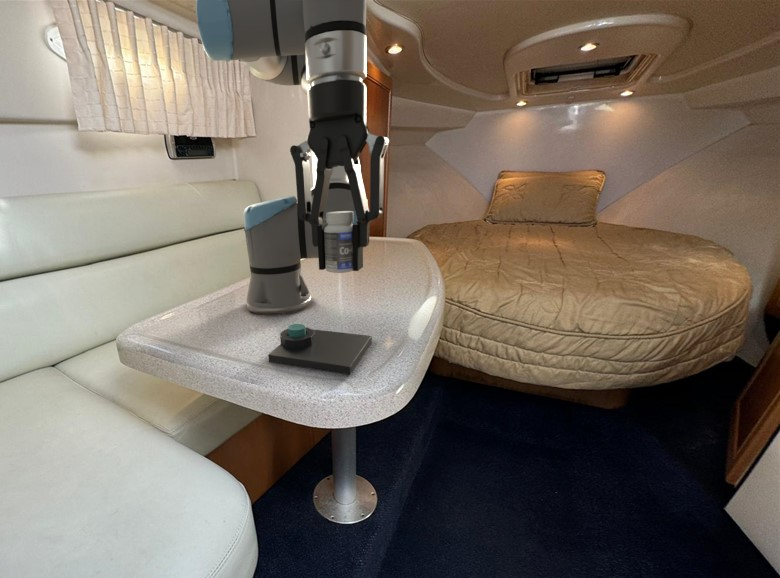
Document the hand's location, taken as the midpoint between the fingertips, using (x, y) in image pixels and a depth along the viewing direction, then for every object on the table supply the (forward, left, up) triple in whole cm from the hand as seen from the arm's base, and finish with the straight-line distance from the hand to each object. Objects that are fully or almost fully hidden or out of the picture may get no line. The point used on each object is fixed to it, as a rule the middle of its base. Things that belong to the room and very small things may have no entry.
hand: (340, 267), depth 56 cm
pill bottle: (0, 0, -1) cm, 1 cm away
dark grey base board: (-1, -3, -14) cm, 14 cm away
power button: (-4, -7, -11) cm, 14 cm away
